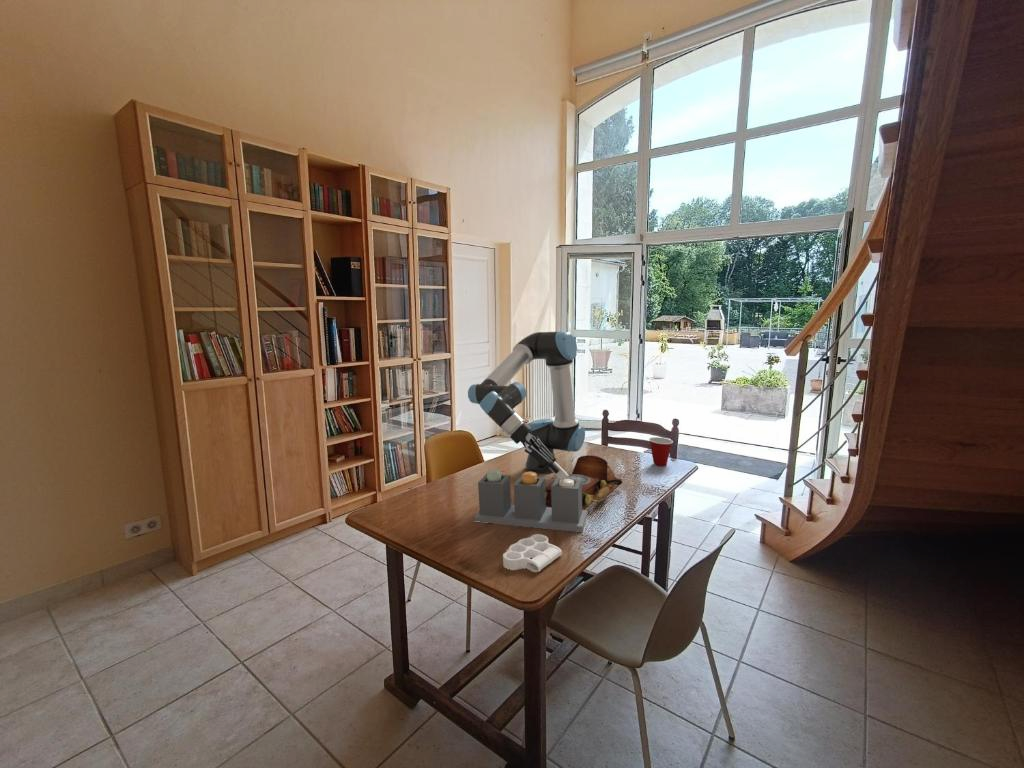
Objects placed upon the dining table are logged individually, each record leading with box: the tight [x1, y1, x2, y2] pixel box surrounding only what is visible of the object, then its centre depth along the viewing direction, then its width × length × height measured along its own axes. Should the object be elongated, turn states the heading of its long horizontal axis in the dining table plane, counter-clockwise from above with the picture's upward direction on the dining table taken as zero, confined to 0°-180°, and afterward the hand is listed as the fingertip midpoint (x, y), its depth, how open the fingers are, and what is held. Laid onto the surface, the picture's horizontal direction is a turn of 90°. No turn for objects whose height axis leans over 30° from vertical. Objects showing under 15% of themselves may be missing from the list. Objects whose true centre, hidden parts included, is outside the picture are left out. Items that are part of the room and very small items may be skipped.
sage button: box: [486, 469, 502, 482], centre depth 164 cm, size 5×5×4 cm
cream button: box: [559, 479, 574, 487], centre depth 157 cm, size 5×5×4 cm
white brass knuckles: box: [502, 533, 563, 573], centre depth 136 cm, size 3×18×15 cm
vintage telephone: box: [545, 454, 623, 510], centre depth 183 cm, size 24×12×40 cm
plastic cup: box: [648, 436, 674, 467], centre depth 214 cm, size 11×11×12 cm
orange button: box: [521, 471, 538, 485], centre depth 160 cm, size 5×5×4 cm
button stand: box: [473, 473, 588, 533], centre depth 161 cm, size 38×13×14 cm, turn 74°
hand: (565, 478), depth 156 cm, fingers closed
